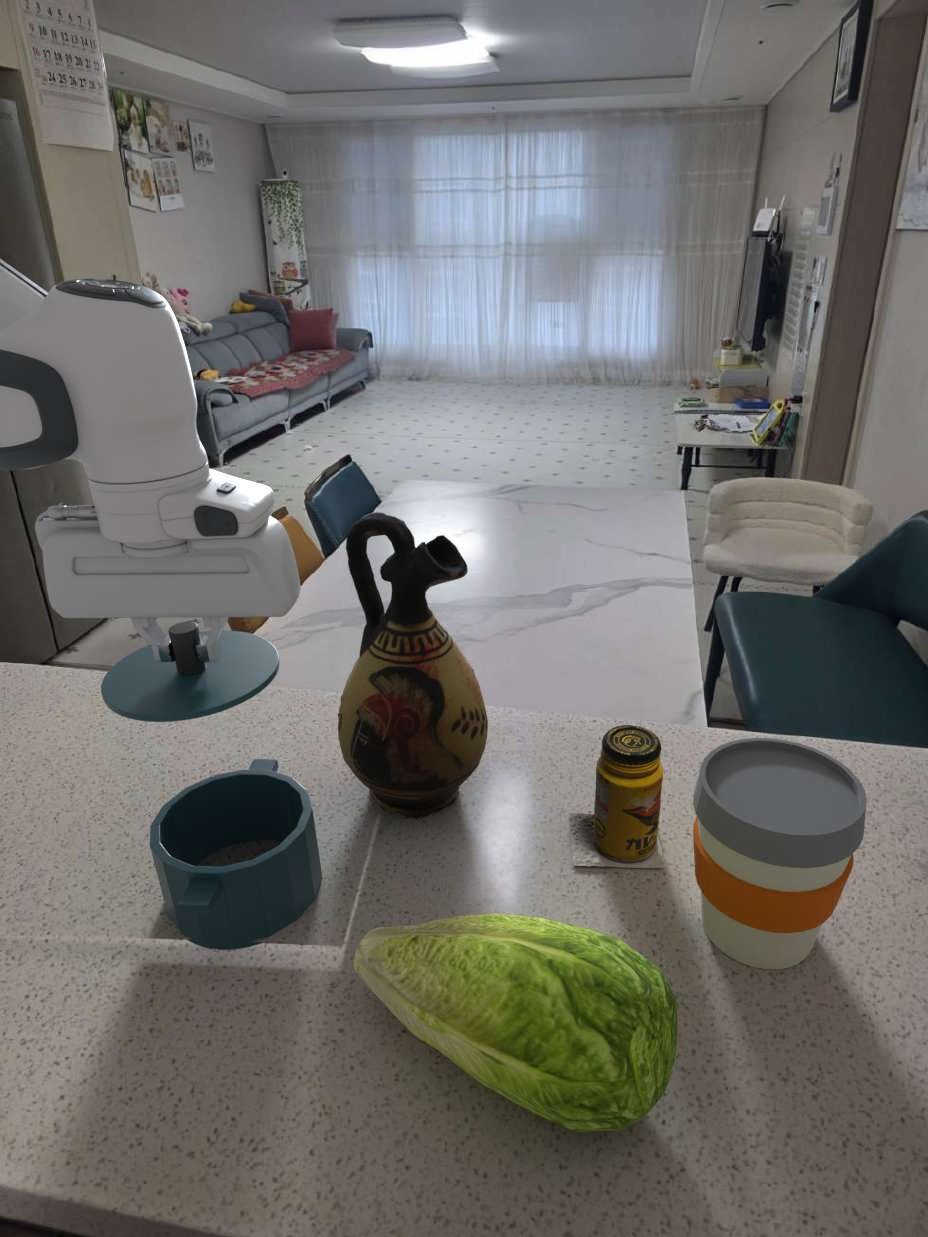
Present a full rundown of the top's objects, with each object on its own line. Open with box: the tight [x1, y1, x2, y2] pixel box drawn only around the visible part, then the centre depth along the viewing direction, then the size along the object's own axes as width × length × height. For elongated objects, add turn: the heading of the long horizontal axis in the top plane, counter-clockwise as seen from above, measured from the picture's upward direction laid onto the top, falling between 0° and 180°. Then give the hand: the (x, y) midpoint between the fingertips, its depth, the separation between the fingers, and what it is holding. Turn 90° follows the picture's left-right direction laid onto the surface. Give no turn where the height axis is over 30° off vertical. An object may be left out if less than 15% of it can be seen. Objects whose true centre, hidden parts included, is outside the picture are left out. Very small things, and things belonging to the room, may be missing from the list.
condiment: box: [569, 724, 667, 869], centre depth 77 cm, size 7×8×12 cm
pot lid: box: [100, 621, 281, 723], centre depth 70 cm, size 15×15×5 cm
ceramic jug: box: [337, 511, 489, 819], centre depth 82 cm, size 17×15×30 cm
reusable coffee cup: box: [692, 737, 868, 970], centre depth 66 cm, size 13×13×15 cm
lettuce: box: [353, 913, 679, 1133], centre depth 59 cm, size 12×24×13 cm
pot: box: [149, 758, 323, 950], centre depth 73 cm, size 14×19×8 cm
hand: (190, 659), depth 70 cm, fingers closed on pot lid, 2 cm apart
